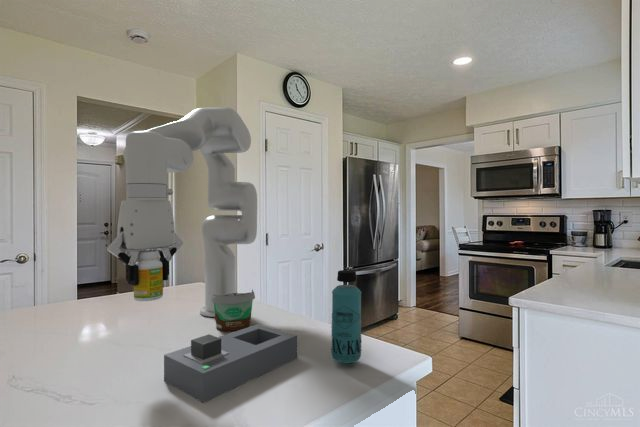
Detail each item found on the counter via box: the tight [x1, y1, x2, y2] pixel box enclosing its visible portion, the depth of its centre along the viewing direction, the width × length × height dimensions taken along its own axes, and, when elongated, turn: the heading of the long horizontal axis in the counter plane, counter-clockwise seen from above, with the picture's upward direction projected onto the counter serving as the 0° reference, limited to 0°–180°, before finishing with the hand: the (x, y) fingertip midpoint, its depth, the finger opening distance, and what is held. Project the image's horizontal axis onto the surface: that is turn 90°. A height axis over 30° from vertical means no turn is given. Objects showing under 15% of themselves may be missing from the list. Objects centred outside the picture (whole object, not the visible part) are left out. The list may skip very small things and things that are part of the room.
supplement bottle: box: [133, 249, 164, 302], centre depth 73 cm, size 5×5×10 cm
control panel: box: [163, 323, 298, 404], centre depth 74 cm, size 24×13×8 cm, turn 142°
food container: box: [211, 289, 256, 333], centre depth 99 cm, size 12×6×10 cm, turn 117°
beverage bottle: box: [330, 269, 363, 364], centre depth 76 cm, size 6×7×20 cm
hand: (148, 281), depth 73 cm, fingers closed on supplement bottle, 5 cm apart
